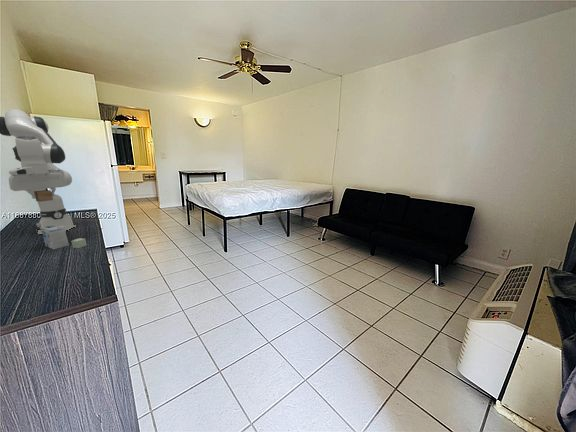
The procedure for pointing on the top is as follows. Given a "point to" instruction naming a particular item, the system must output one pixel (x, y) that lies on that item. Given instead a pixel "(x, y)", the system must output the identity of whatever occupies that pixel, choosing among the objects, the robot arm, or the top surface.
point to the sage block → (79, 243)
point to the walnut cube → (43, 195)
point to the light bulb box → (54, 236)
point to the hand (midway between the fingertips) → (43, 197)
